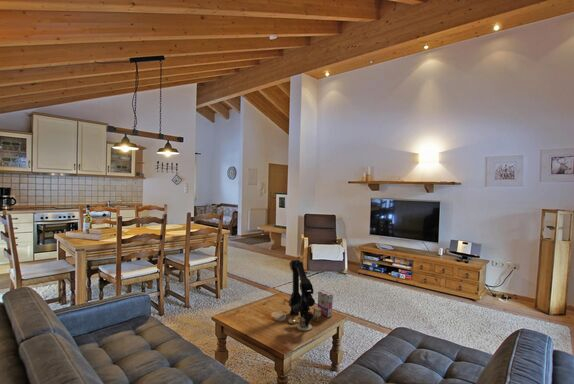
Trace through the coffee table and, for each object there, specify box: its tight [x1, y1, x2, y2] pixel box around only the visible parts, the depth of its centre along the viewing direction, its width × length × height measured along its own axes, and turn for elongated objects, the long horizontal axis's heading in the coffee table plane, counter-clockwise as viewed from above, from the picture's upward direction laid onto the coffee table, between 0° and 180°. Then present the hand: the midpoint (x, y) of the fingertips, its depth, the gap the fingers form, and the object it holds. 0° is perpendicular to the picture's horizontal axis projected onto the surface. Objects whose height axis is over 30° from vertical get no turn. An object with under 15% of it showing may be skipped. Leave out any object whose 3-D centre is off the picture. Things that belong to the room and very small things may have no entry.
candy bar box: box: [317, 289, 334, 318], centre depth 223 cm, size 11×5×16 cm, turn 37°
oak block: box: [312, 306, 322, 316], centre depth 213 cm, size 4×4×4 cm
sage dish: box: [296, 322, 312, 332], centre depth 202 cm, size 10×10×1 cm
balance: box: [288, 312, 322, 325], centre depth 211 cm, size 24×6×5 cm, turn 104°
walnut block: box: [298, 316, 310, 328], centre depth 202 cm, size 5×5×5 cm
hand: (304, 323), depth 202 cm, fingers open, 9 cm apart
